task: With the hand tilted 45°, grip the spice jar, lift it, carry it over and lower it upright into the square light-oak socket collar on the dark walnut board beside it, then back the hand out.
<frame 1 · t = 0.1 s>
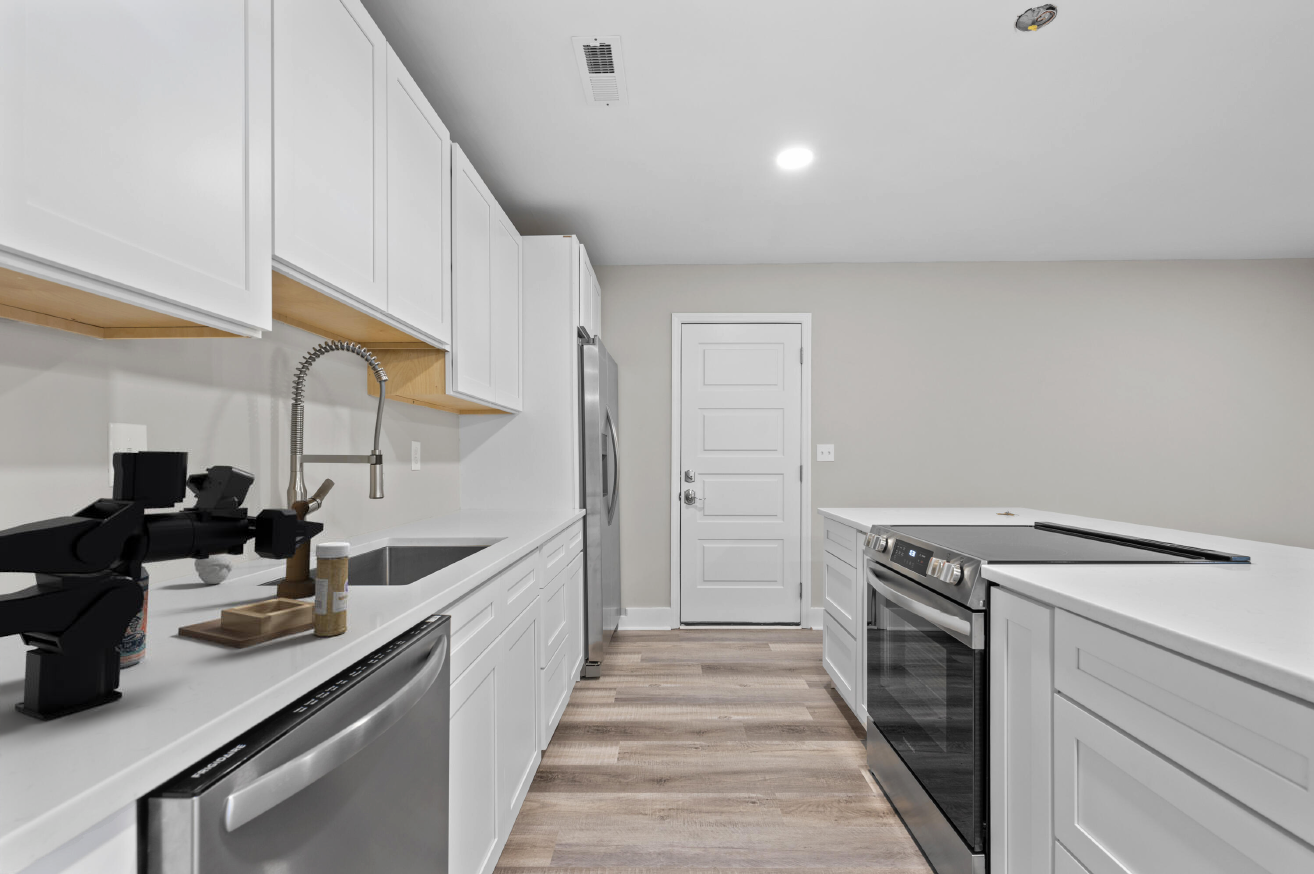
hand: (300, 524, 88), 17 cm above the worktop, tool horizontal, fingers open, 9 cm apart
beer can: (120, 665, 76), on the worktop
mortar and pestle: (297, 596, 115), on the worktop
spice jar: (330, 634, 91), on the worktop
socket: (271, 630, 92), on the worktop
white lumpy ball: (213, 584, 123), on the worktop
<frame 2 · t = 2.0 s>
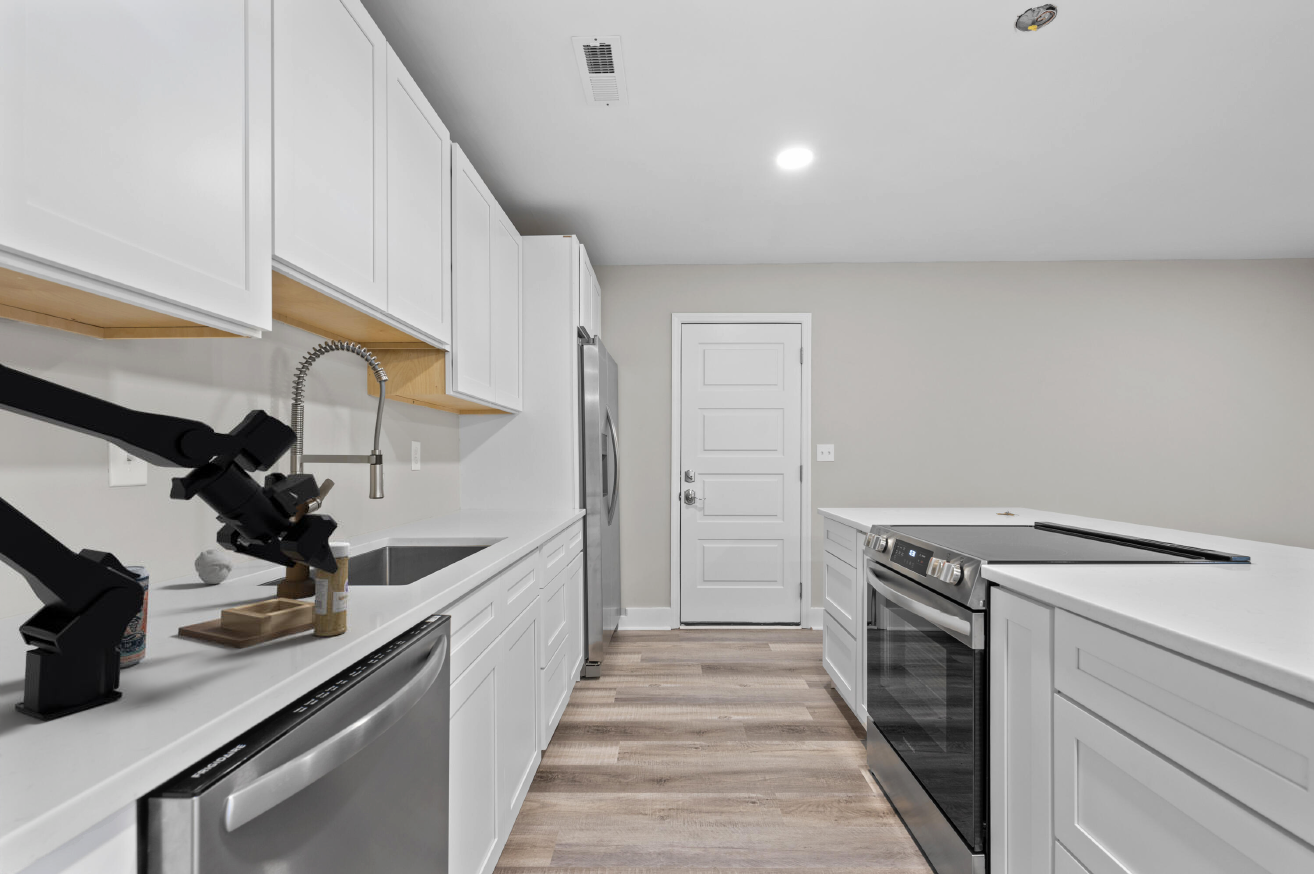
hand: (314, 568, 89), 10 cm above the worktop, tool tilted 45°, fingers open, 9 cm apart
nothing on the worktop moved.
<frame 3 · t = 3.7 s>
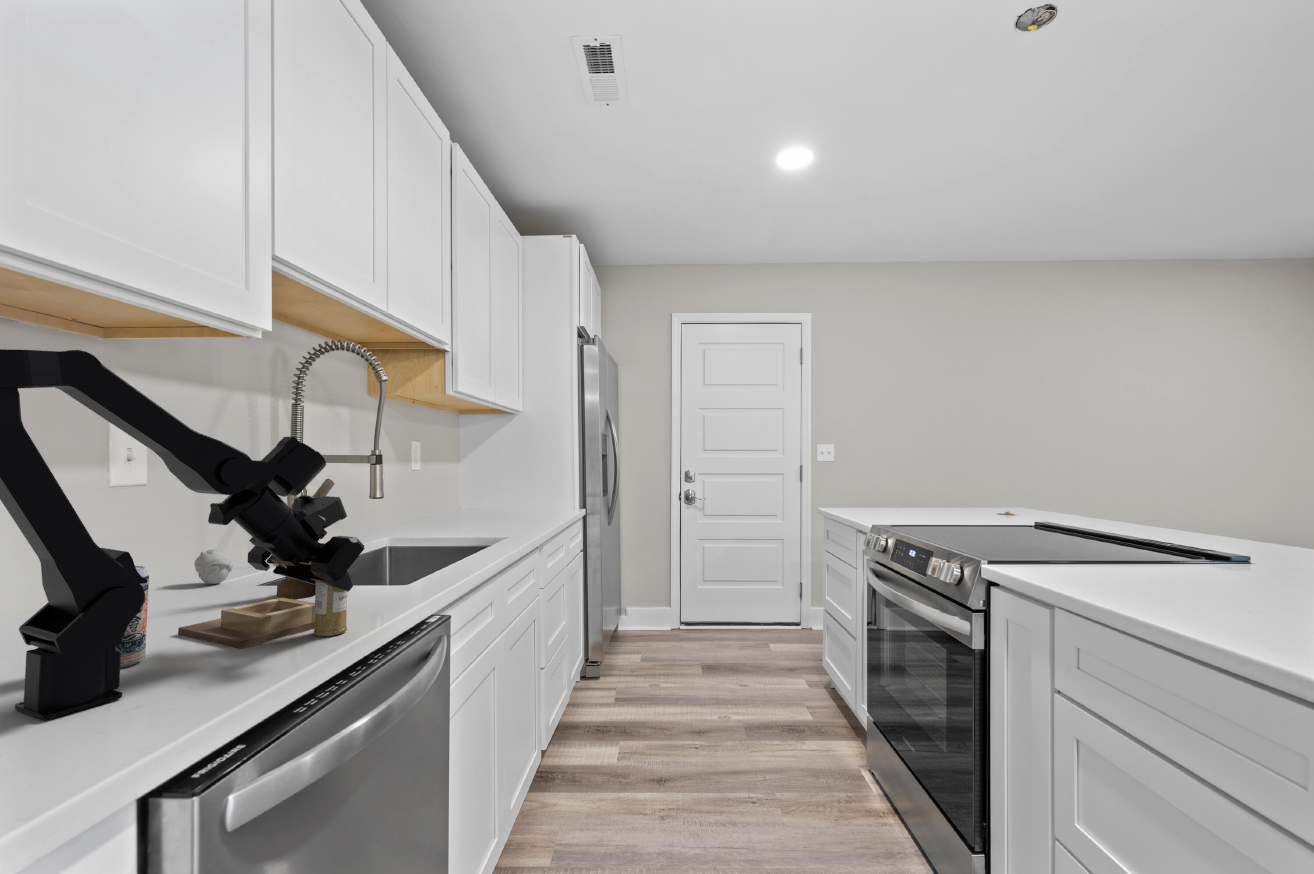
hand: (340, 587, 93), 7 cm above the worktop, tool tilted 45°, fingers closed on spice jar, 4 cm apart
spice jar: (330, 634, 91), on the worktop, touching gripper
everything else where it was.
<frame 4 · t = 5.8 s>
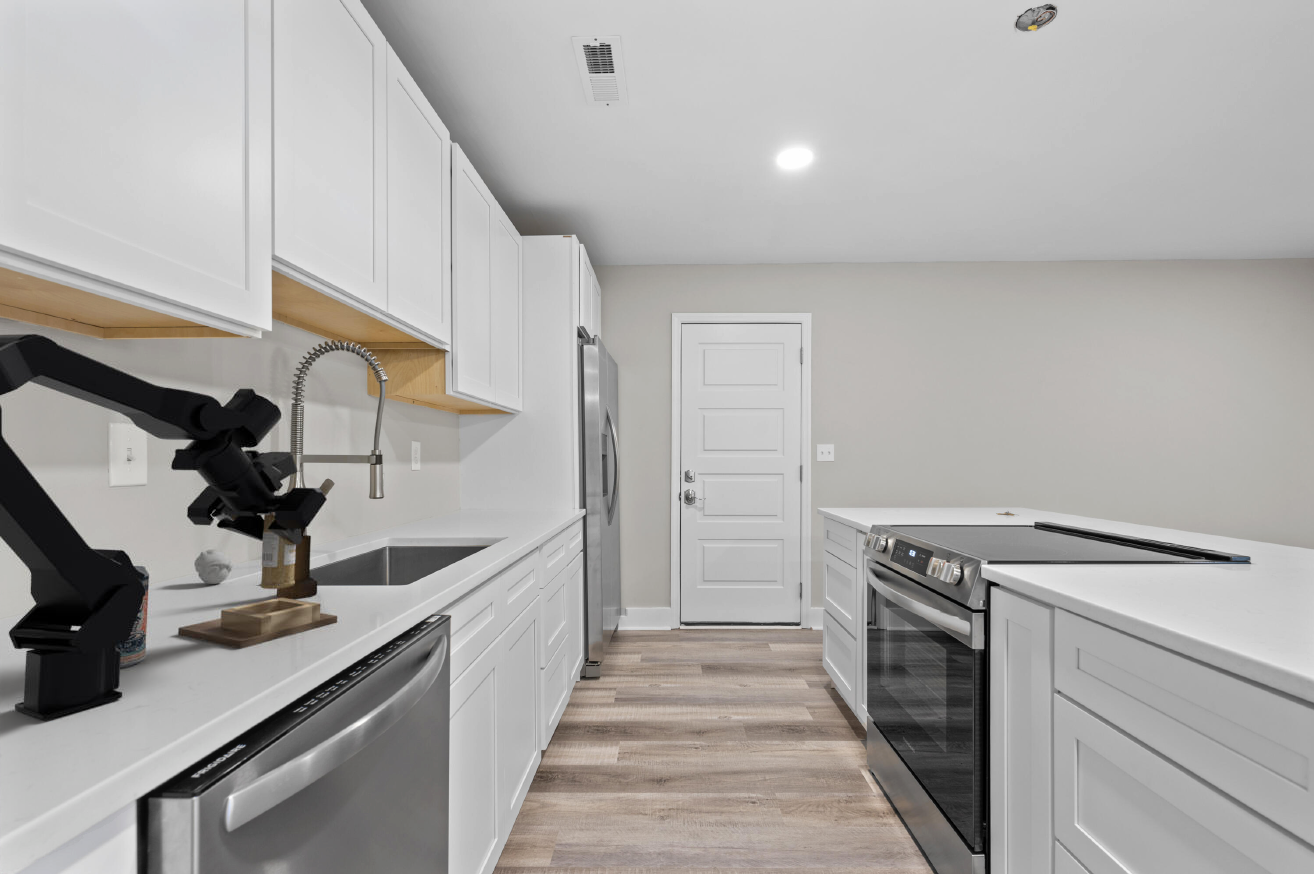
hand: (286, 541, 94), 13 cm above the worktop, tool tilted 45°, fingers closed on spice jar, 4 cm apart
spice jar: (277, 587, 92), point 6 cm above the worktop, touching gripper
everything else where it was.
when the fingers open (8 cm above the worktop, at t = 7.8 s): spice jar stays where it is, resting on socket.
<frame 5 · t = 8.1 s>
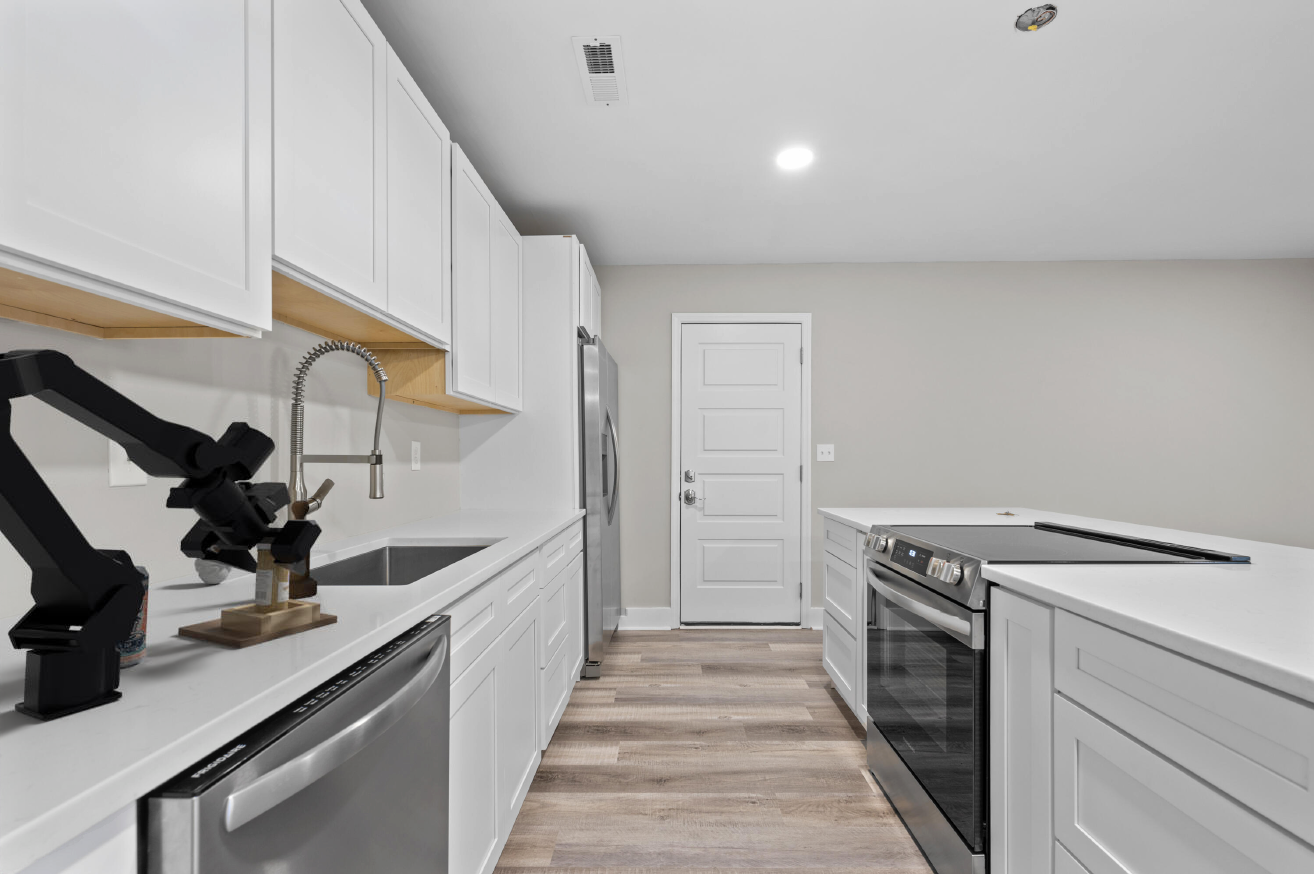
hand: (280, 571, 94), 9 cm above the worktop, tool tilted 45°, fingers open, 8 cm apart
spice jar: (270, 624, 92), point 1 cm above the worktop, touching socket
everything else where it was.
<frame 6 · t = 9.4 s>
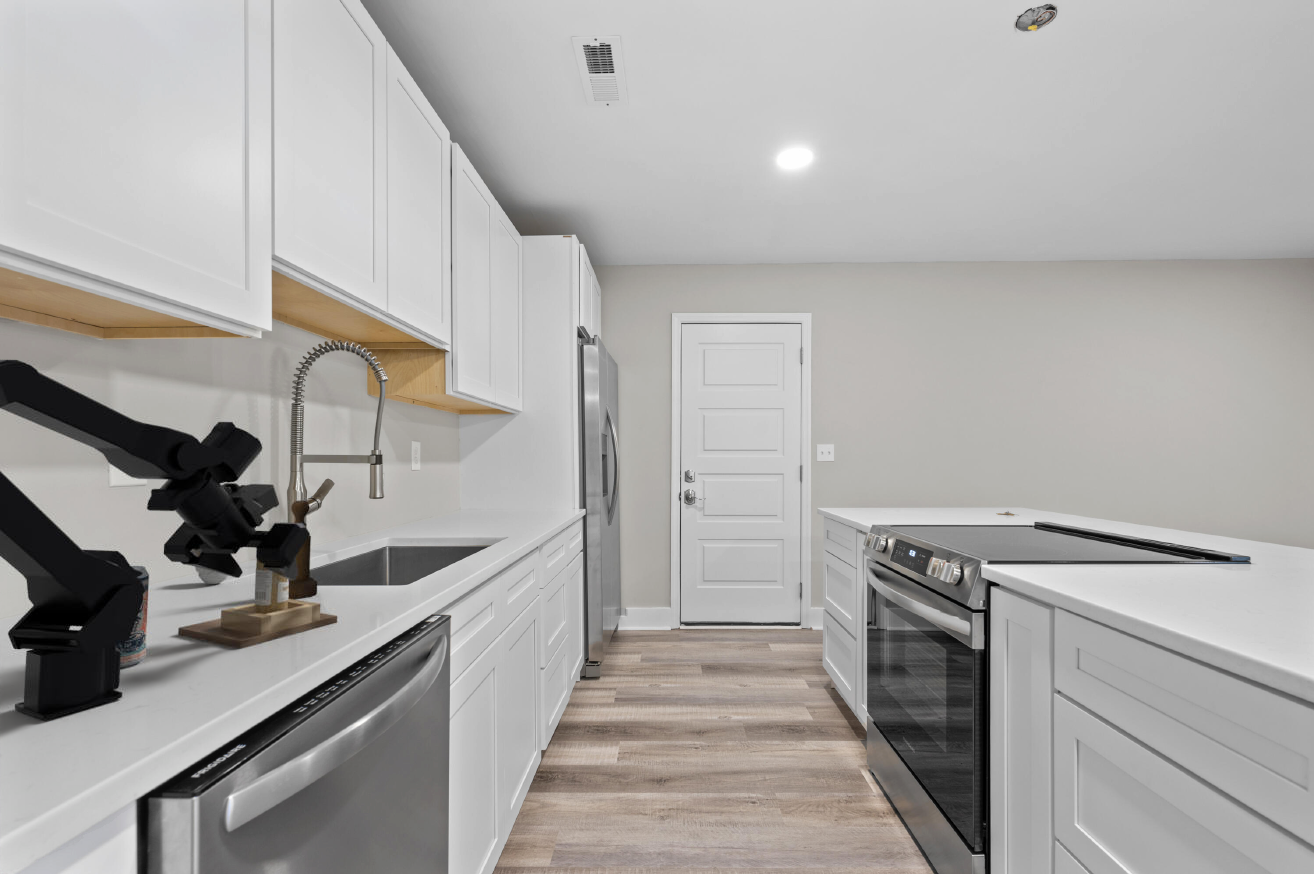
hand: (267, 576, 91), 8 cm above the worktop, tool tilted 45°, fingers open, 9 cm apart
nothing on the worktop moved.
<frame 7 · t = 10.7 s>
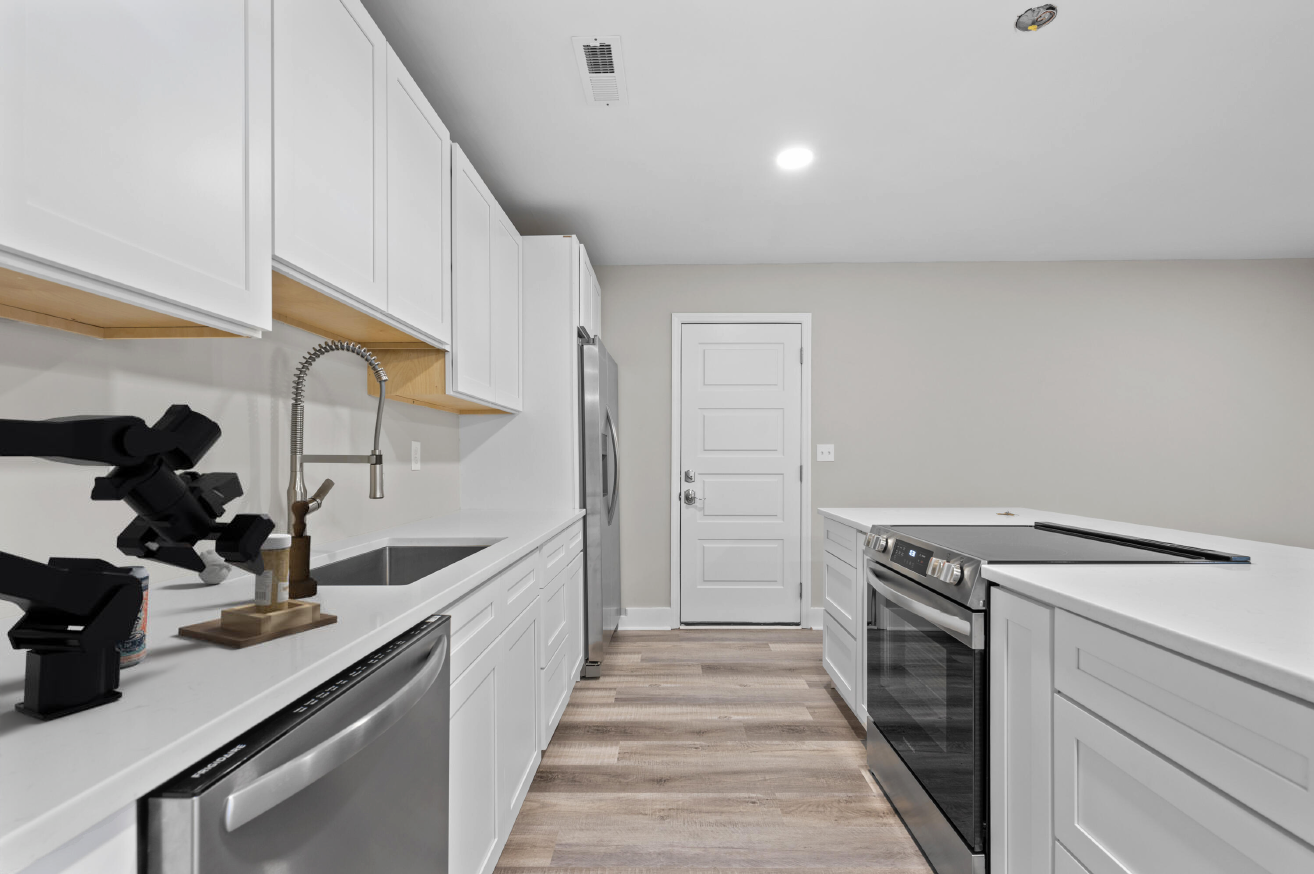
hand: (232, 571, 85), 10 cm above the worktop, tool tilted 45°, fingers open, 9 cm apart
nothing on the worktop moved.
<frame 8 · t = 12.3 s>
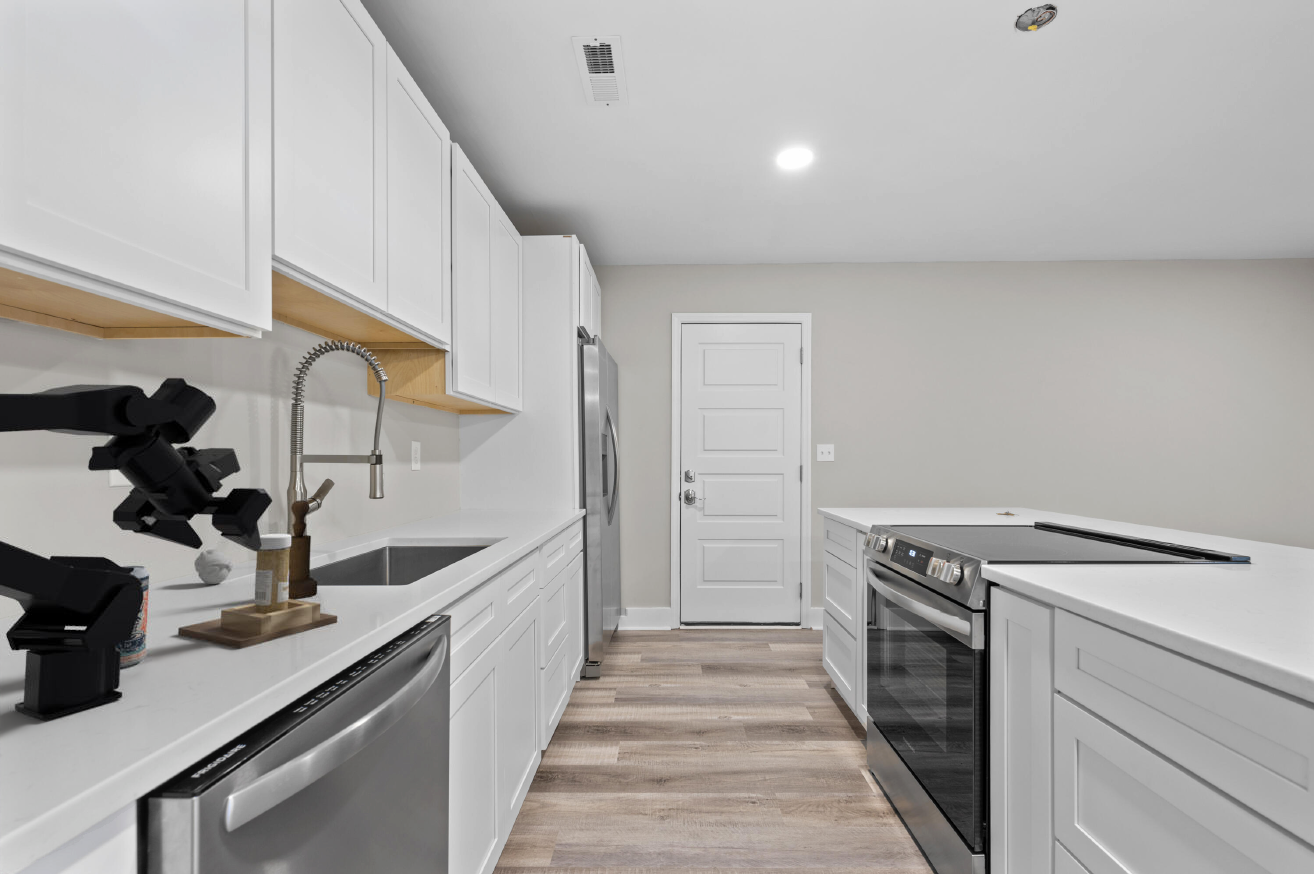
hand: (229, 547, 85), 14 cm above the worktop, tool tilted 45°, fingers open, 9 cm apart
nothing on the worktop moved.
at the end: spice jar 0.2 cm off-centre on the socket, point 0.8 cm above the socket's base; spice jar tilted 0°; the gripper is holding nothing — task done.
